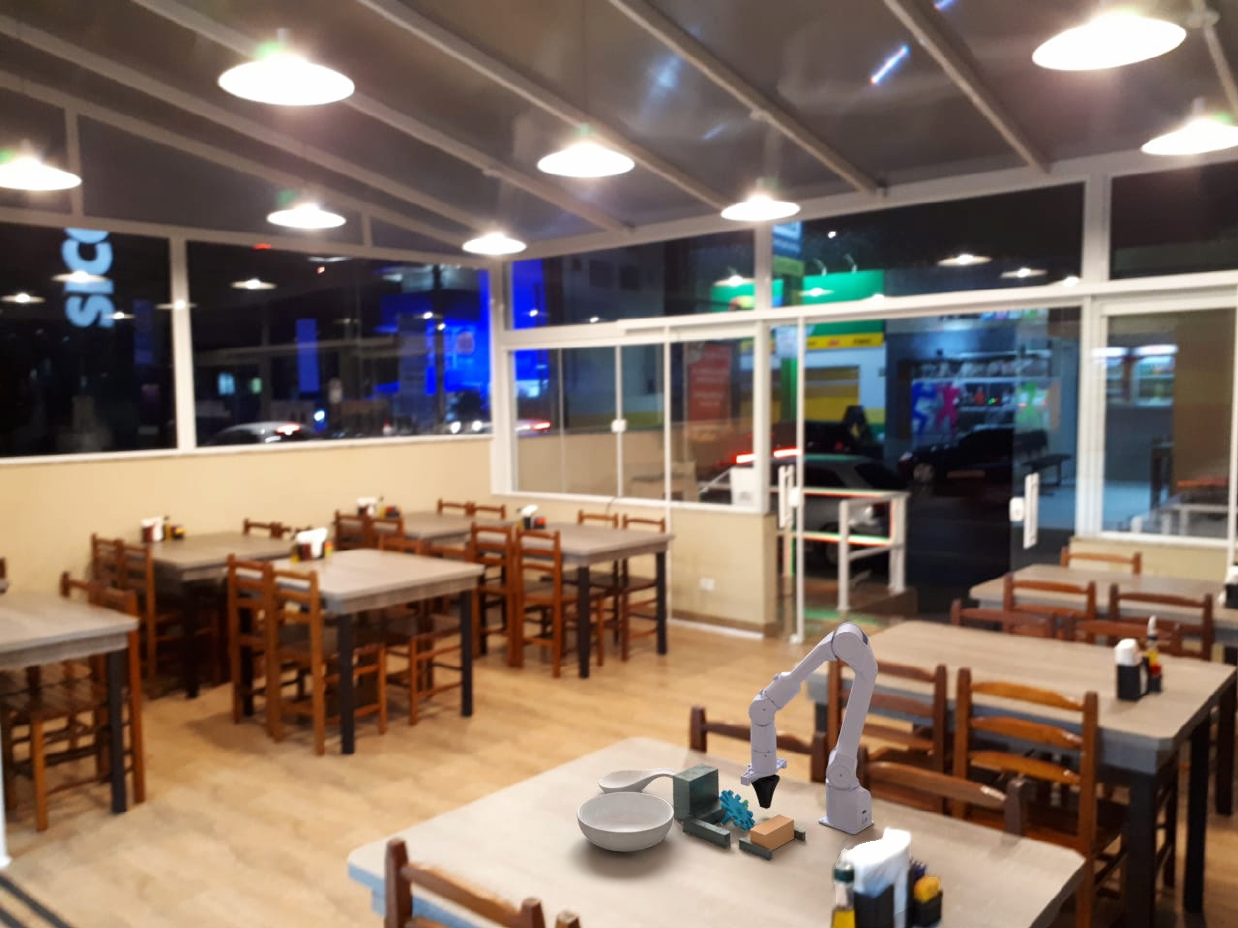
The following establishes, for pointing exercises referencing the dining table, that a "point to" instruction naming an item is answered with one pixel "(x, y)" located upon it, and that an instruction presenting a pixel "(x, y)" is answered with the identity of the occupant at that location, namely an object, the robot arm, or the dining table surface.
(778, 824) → the press ram
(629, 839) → the serving bowl
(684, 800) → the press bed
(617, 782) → the spoon rest
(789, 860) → the dining table surface
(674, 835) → the dining table surface
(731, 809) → the gear
